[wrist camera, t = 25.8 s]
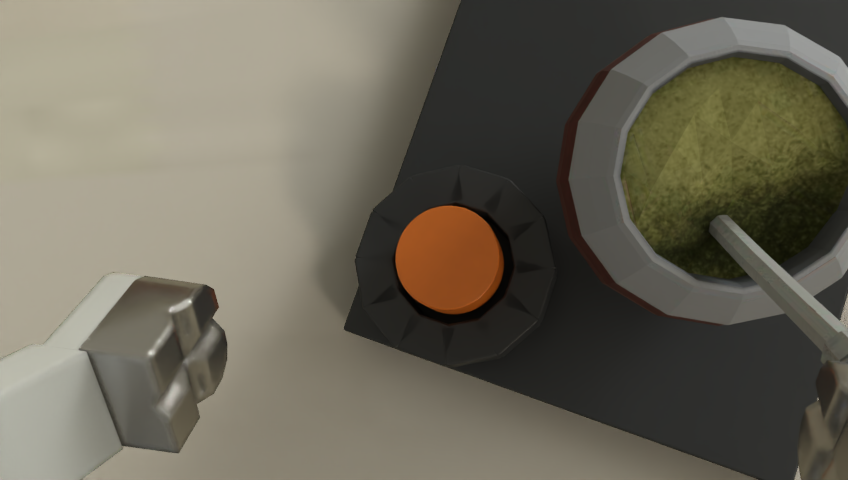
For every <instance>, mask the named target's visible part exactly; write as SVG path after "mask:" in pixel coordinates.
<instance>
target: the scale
mask: <svg viewBox="0 0 848 480" xmlns="http://www.w3.org/2000/svg"><path fill="white" fill-rule="evenodd" d="M720 17H725V18H733V19H740V20H748V21H756V22H764V23H772V24H780V25H785V26H787V27H789V28H790V29H792V30H794V31H795V32H797V33H799V34H801V35H802V36H804V37H806V38H808V39H809V40H811V41H813V42H815V43H816V44H818V45H820V46H822V47H823V48H825V49H827V50H829V51H830V52H832V53H834V54H836V55H837V56H839V57H840V58H841V59H842V60H843V62H844V63H845V65H846V66H847V67H848V0H461V2H460V5H459V8H458V10H457V13H456V16H455V19H454V22H453V24H452V27H451V30H450V33H449V36H448V38H447V41H446V44H445V47H444V50H443V52H442V55H441V58H440V61H439V63H438V66H437V69H436V72H435V75H434V77H433V80H432V83H431V86H430V89H429V91H428V94H427V97H426V100H425V103H424V105H423V108H422V111H421V114H420V116H419V119H418V122H417V125H416V128H415V130H414V133H413V136H412V139H411V142H410V144H409V147H408V150H407V153H406V156H405V158H404V161H403V164H402V167H401V169H400V172H399V175H398V178H397V181H396V183H395V186H394V189H393V192H392V193H390V194H389V195H388V196H387V197H386V198H385V199H384V200H383V201H381V202H380V203H379V204H378V205H377V206H376V207H375V208H374V209H373V211H372V213H371V215H370V217H369V220H368V223H367V226H366V228H365V231H364V234H363V237H362V239H361V242H360V245H359V248H358V251H357V253H356V259H355V264H356V270H357V277H358V283H359V287H358V289H357V292H356V295H355V298H354V301H353V303H352V306H351V309H350V312H349V315H348V317H347V320H346V323H345V326H344V330H345V331H348V332H351V333H353V334H356V335H359V336H362V337H365V338H367V339H370V340H373V341H376V342H378V343H381V344H384V345H387V346H390V347H392V348H395V349H398V350H400V351H403V352H406V353H409V354H412V355H414V356H417V357H420V358H423V359H425V360H428V361H431V362H434V363H437V364H439V365H442V366H445V367H448V368H451V369H454V370H456V371H459V372H462V373H465V374H467V375H470V376H473V377H476V378H479V379H481V380H484V381H487V382H490V383H492V384H495V385H498V386H501V387H504V388H506V389H509V390H512V391H515V392H517V393H520V394H523V395H526V396H529V397H531V398H534V399H537V400H540V401H542V402H545V403H548V404H551V405H554V406H556V407H559V408H562V409H565V410H567V411H570V412H573V413H576V414H579V415H581V416H584V417H587V418H590V419H592V420H595V421H598V422H601V423H604V424H606V425H609V426H612V427H615V428H617V429H620V430H623V431H626V432H629V433H631V434H634V435H637V436H640V437H642V438H645V439H648V440H651V441H654V442H656V443H659V444H662V445H665V446H667V447H670V448H673V449H676V450H679V451H681V452H684V453H687V454H690V455H692V456H695V457H698V458H701V459H704V460H706V461H709V462H712V463H715V464H717V465H720V466H723V467H726V468H729V469H731V470H734V471H737V472H740V473H742V474H745V475H748V476H751V477H754V478H756V479H759V480H794V479H795V475H796V472H797V468H798V452H797V445H798V436H799V427H800V424H801V421H802V418H803V415H804V411H805V408H806V407H808V406H809V405H811V404H813V403H814V402H816V401H817V398H818V393H817V389H816V385H815V381H816V379H817V376H818V373H819V371H820V368H821V367H822V366H823V363H822V362H821V361H820V360H821V356H822V351H821V350H820V349H819V348H818V347H817V346H816V345H815V344H814V343H813V342H812V341H811V340H810V339H809V338H808V336H807V335H806V334H805V333H804V332H803V331H802V330H801V329H800V328H799V327H798V326H797V325H796V324H795V323H794V322H793V321H792V320H791V319H790V318H789V317H788V316H787V315H786V313H784V314H780V315H775V316H770V317H765V318H760V319H755V320H750V321H745V322H741V323H736V324H731V325H720V326H715V325H709V324H704V323H698V322H692V321H686V320H680V319H674V318H668V317H662V316H657V315H655V314H653V313H651V312H649V311H648V310H646V309H644V308H643V307H641V306H639V305H638V304H636V303H634V302H633V301H631V300H629V299H628V298H626V297H624V296H623V295H621V294H620V293H618V292H616V291H615V290H613V289H611V288H610V287H608V286H606V285H605V284H603V283H602V282H601V281H600V280H599V278H598V277H597V275H596V274H595V273H594V271H593V270H592V268H591V267H590V266H589V264H588V263H587V261H586V260H585V259H584V257H583V256H582V254H581V253H580V252H579V250H578V249H577V247H576V246H575V245H574V243H573V242H572V240H571V239H570V238H569V236H568V232H567V227H566V223H565V218H564V214H563V210H562V205H561V201H560V196H559V192H558V188H557V183H556V178H557V172H558V166H559V159H560V153H561V147H562V141H563V134H564V128H565V124H566V122H567V120H568V119H569V117H570V115H571V114H572V112H573V111H574V109H575V107H576V106H577V104H578V103H579V101H580V99H581V98H582V96H583V94H584V93H585V91H586V90H587V88H588V86H589V85H590V83H591V82H592V80H593V78H594V77H595V75H596V74H597V73H598V72H599V71H601V70H602V69H603V68H605V67H606V66H607V65H609V64H610V63H612V62H613V61H614V60H616V59H617V58H618V57H620V56H621V55H623V54H624V53H625V52H627V51H628V50H629V49H631V48H632V47H633V46H635V45H636V44H638V43H639V42H640V41H642V40H643V39H644V38H646V37H647V36H649V35H651V34H653V33H657V32H661V31H665V30H669V29H673V28H676V27H680V26H684V25H688V24H692V23H696V22H699V21H703V20H707V19H711V18H714V19H716V18H720ZM440 206H458V207H463V208H466V209H468V210H471V211H473V212H474V213H476V214H478V215H479V216H480V217H482V218H483V219H484V220H485V221H486V222H487V223H488V224H489V226H490V227H491V228H492V230H493V232H494V234H495V236H496V237H497V239H498V241H499V244H500V246H501V248H502V252H503V257H504V271H503V276H502V280H501V283H500V285H499V287H498V289H497V291H496V292H495V293H494V295H493V296H492V297H491V298H490V299H489V300H488V301H487V302H486V303H485V304H484V305H482V306H481V307H479V308H477V309H475V310H473V311H471V312H467V313H463V314H444V313H441V312H437V311H435V310H433V309H431V308H429V307H427V306H425V305H423V304H421V303H420V302H418V301H417V300H415V299H414V298H413V297H412V296H411V295H410V294H409V293H408V292H407V291H406V290H405V288H404V287H403V285H402V283H401V281H400V279H399V277H398V274H397V270H396V262H395V256H396V248H397V245H398V241H399V239H400V236H401V234H402V233H403V231H404V229H405V228H406V227H407V225H408V224H409V223H410V222H411V221H412V220H413V219H414V218H416V217H417V216H418V215H420V214H421V213H423V212H425V211H427V210H429V209H432V208H435V207H440ZM847 294H848V269H847V271H846V272H845V274H844V275H843V277H842V278H841V279H839V280H838V281H836V282H835V283H833V284H832V285H830V286H828V287H827V288H825V289H824V290H822V291H821V292H819V293H818V294H816V295H815V296H813V297H814V298H815V299H816V300H817V301H818V302H819V303H821V304H822V305H823V306H824V307H825V308H826V309H827V310H828V311H829V312H830V313H832V314H833V315H834V316H835V317H836V318H837V319H838V320H839V321H840V318H841V315H842V311H843V308H844V304H845V301H846V297H847Z"/></svg>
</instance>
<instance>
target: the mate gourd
mask: <svg viewBox="0 0 848 480" xmlns="http://www.w3.org/2000/svg"><path fill="white" fill-rule="evenodd" d="M556 183H557V188H558V192H559V196H560V201H561V205H562V210H563V214H564V218H565V223H566V227H567V232H568V236H569V238H570V239H571V240H572V242H573V243H574V245H575V246H576V247H577V249H578V250H579V252H580V253H581V254H582V256H583V257H584V259H585V260H586V261H587V263H588V264H589V266H590V267H591V268H592V270H593V271H594V273H595V274H596V275H597V277H598V278H599V280H600V281H601V282H602V283H603V284H605V285H606V286H608V287H610V288H611V289H613V290H615V291H616V292H618V293H620V294H621V295H623V296H624V297H626V298H628V299H629V300H631V301H633V302H634V303H636V304H638V305H639V306H641V307H643V308H644V309H646V310H648V311H649V312H651V313H653V314H655V315H657V316H662V317H668V318H674V319H680V320H686V321H692V322H698V323H704V324H709V325H715V326H720V325H731V324H736V323H741V322H745V321H750V320H755V319H760V318H765V317H770V316H775V315H780V314H784V313H786V315H787V316H788V317H789V318H790V319H791V320H792V321H793V322H794V323H795V324H796V325H797V326H798V327H799V328H800V329H801V330H802V331H803V332H804V333H805V334H806V335H807V336H808V338H809V339H810V340H811V341H812V342H813V343H814V344H815V345H816V346H817V347H818V348H819V349H820V350H821V351H822V356H821V360H820V361H821V362H822V363H823V364H824V363H825V362H826V361H827V360H831V361H840V362H848V328H847V327H846V326H845V325H844V324H843V323H841V322H840V321H839V320H838V319H837V318H836V317H835V316H834V315H833V314H832V313H830V312H829V311H828V310H827V309H826V308H825V307H824V306H823V305H822V304H821V303H819V302H818V301H817V300H816V299H815V298H814V297H813V296H815V295H816V294H818V293H819V292H821V291H822V290H824V289H825V288H827V287H828V286H830V285H832V284H833V283H835V282H836V281H838V280H839V279H841V278H842V277H843V275H844V274H845V272H846V271H847V269H848V67H847V66H846V65H845V63H844V62H843V60H842V59H841V58H840V57H839V56H837V55H836V54H834V53H832V52H830V51H829V50H827V49H825V48H823V47H822V46H820V45H818V44H816V43H815V42H813V41H811V40H809V39H808V38H806V37H804V36H802V35H801V34H799V33H797V32H795V31H794V30H792V29H790V28H789V27H787V26H785V25H780V24H772V23H764V22H756V21H748V20H740V19H733V18H725V17H720V18H716V19H714V18H711V19H707V20H703V21H699V22H696V23H692V24H688V25H684V26H680V27H676V28H673V29H669V30H665V31H661V32H657V33H653V34H651V35H649V36H647V37H646V38H644V39H643V40H642V41H640V42H639V43H638V44H636V45H635V46H633V47H632V48H631V49H629V50H628V51H627V52H625V53H624V54H623V55H621V56H620V57H618V58H617V59H616V60H614V61H613V62H612V63H610V64H609V65H607V66H606V67H605V68H603V69H602V70H601V71H599V72H598V73H597V74H596V75H595V77H594V78H593V80H592V82H591V83H590V85H589V86H588V88H587V90H586V91H585V93H584V94H583V96H582V98H581V99H580V101H579V103H578V104H577V106H576V107H575V109H574V111H573V112H572V114H571V115H570V117H569V119H568V120H567V122H566V124H565V128H564V134H563V141H562V147H561V153H560V159H559V166H558V172H557V178H556Z"/></svg>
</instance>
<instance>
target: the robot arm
mask: <svg viewBox="0 0 848 480" xmlns="http://www.w3.org/2000/svg"><path fill="white" fill-rule="evenodd" d="M218 308H219V306H218V302H217V299H216V295H215V292H214V289H213V288H211V287H209V286H207V285H204V284H197V283H190V282H183V281H176V280H169V279H163V278H156V277H149V276H144V277H143V276H137V275H130V274H124V273H117V272H113V273H110V274H107V275H105V276H103V277H102V278H101V279H100V280H99V282H98V283H97V284H96V285H95V286H94V287H93V288H92V289H91V291H90V292H89V293H88V294H87V295H86V296H85V297H84V298H83V300H82V301H81V302H80V303H79V304H78V305H77V306H76V307H75V309H74V310H73V311H72V312H71V313H70V314H69V315H68V316H67V318H66V319H65V320H64V321H63V322H62V323H61V324H60V325H59V327H58V328H57V329H56V330H55V331H54V332H53V333H52V334H51V336H50V337H49V338H48V339H47V340H46V341H45V342H44V343H43V345H38V344H31V345H29V346H27V347H24V348H22V349H20V350H18V351H16V352H14V353H12V354H10V355H7V356H5V357H3V358H1V359H0V480H81V479H83V478H84V477H85V476H87V475H88V474H90V473H91V472H92V471H94V470H95V469H96V468H98V467H99V466H100V465H102V464H103V463H105V462H106V461H107V460H109V459H110V458H111V457H113V456H114V455H115V454H117V453H118V452H120V451H121V450H122V449H123V447H122V446H128V447H135V448H142V449H150V450H157V451H164V452H172V453H179V452H180V450H181V449H182V447H183V445H184V444H185V442H186V440H187V439H188V437H189V435H190V434H191V432H192V430H193V428H194V427H195V425H196V423H197V422H198V420H199V418H200V415H199V411H198V407H197V404H198V403H199V402H201V401H203V400H204V399H206V398H208V397H209V396H211V395H213V394H214V392H215V391H216V389H217V387H218V385H219V383H220V382H221V380H222V377H223V373H224V370H225V366H226V362H227V341H226V336H225V331H224V330H223V329H222V328H221V327H220V326H219V325H218V324H217V323H216V322H215V321H214V319H213V318H212V317H213V316H214V314H215V312H216V311H217V309H218ZM815 385H816V389H817V393H818V397H819V400H818V401H816V402H814V403H813V404H811V405H809V406H808V407H806V408H805V411H804V415H803V418H802V421H801V424H800V427H799V436H798V445H797V452H798V466H799V471H800V476H801V480H848V362H840V361H831V360H827V361H826V362H825V363H824V364H823V366H822V367H821V368H820V371H819V373H818V376H817V379H816V381H815Z"/></svg>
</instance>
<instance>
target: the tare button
mask: <svg viewBox="0 0 848 480" xmlns="http://www.w3.org/2000/svg"><path fill="white" fill-rule="evenodd" d="M395 262H396V270H397V274H398V277H399V279H400V281H401V283H402V285H403V287H404V288H405V290H406V291H407V292H408V293H409V294H410V295H411V296H412V297H413V298H414V299H415V300H417V301H418V302H420V303H421V304H423V305H425V306H427V307H429V308H431V309H433V310H435V311H437V312H441V313H444V314H463V313H467V312H471V311H473V310H475V309H477V308H479V307H481V306H482V305H484V304H485V303H486V302H487V301H488V300H489V299H490V298H491V297H492V296H493V295H494V293H495V292H496V291H497V289H498V287H499V285H500V283H501V280H502V276H503V271H504V257H503V252H502V248H501V246H500V244H499V241H498V239H497V237H496V236H495V234H494V232H493V230H492V228H491V227H490V226H489V224H488V223H487V222H486V221H485V220H484V219H483V218H482V217H480V216H479V215H478V214H476V213H474V212H473V211H471V210H468V209H466V208H463V207H458V206H440V207H435V208H432V209H429V210H427V211H425V212H423V213H421V214H420V215H418V216H417V217H416V218H414V219H413V220H412V221H411V222H410V223H409V224H408V225H407V227H406V228H405V229H404V231H403V233H402V234H401V236H400V239H399V241H398V245H397V248H396V256H395Z"/></svg>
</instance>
